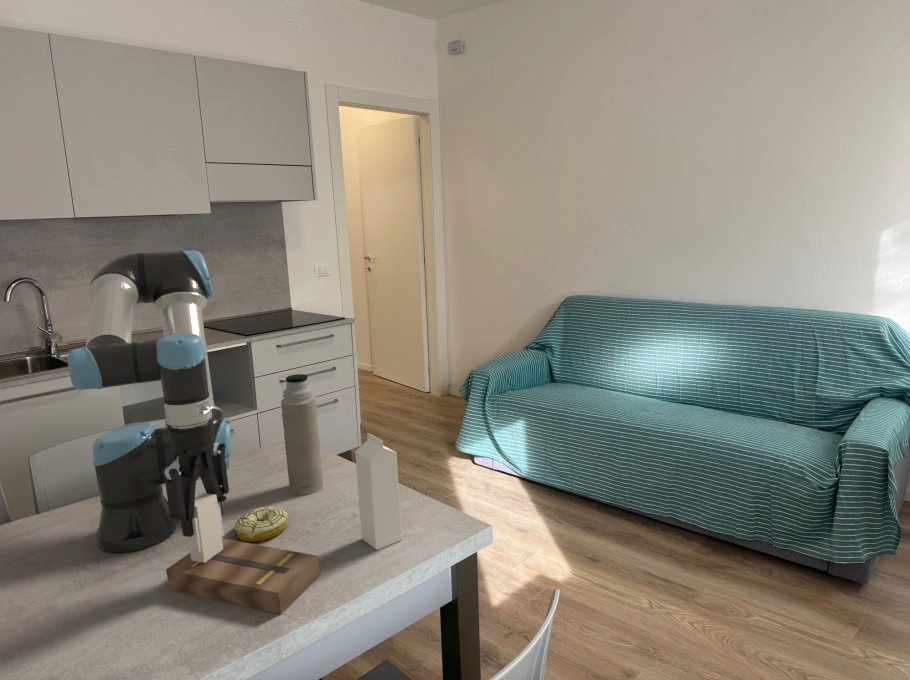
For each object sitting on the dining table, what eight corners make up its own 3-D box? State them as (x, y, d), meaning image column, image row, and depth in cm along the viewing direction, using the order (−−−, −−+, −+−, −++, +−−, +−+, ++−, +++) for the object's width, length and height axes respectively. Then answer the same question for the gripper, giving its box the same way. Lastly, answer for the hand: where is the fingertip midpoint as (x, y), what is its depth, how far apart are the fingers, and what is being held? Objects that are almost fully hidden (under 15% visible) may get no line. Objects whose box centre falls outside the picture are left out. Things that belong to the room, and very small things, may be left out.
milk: (376, 550, 126) (368, 445, 121) (361, 538, 131) (353, 436, 126) (402, 540, 130) (395, 436, 125) (387, 528, 134) (379, 429, 130)
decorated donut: (226, 533, 136) (224, 517, 135) (272, 515, 143) (270, 499, 142) (251, 550, 128) (249, 532, 128) (297, 529, 136) (296, 513, 135)
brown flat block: (169, 589, 116) (166, 568, 115) (215, 555, 127) (212, 536, 126) (281, 614, 107) (278, 592, 106) (320, 575, 118) (318, 555, 117)
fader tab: (191, 560, 117) (183, 504, 115) (210, 546, 122) (203, 492, 119) (204, 563, 116) (196, 506, 114) (223, 549, 121) (216, 494, 118)
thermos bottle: (284, 494, 152) (273, 380, 147) (297, 480, 160) (286, 371, 154) (316, 495, 151) (306, 380, 146) (327, 481, 159) (318, 371, 153)
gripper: (167, 442, 104) (185, 572, 109) (241, 408, 120) (254, 522, 125) (132, 437, 107) (151, 564, 111) (209, 405, 123) (222, 517, 128)
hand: (205, 542), depth 118 cm, fingers closed on fader tab, 5 cm apart
